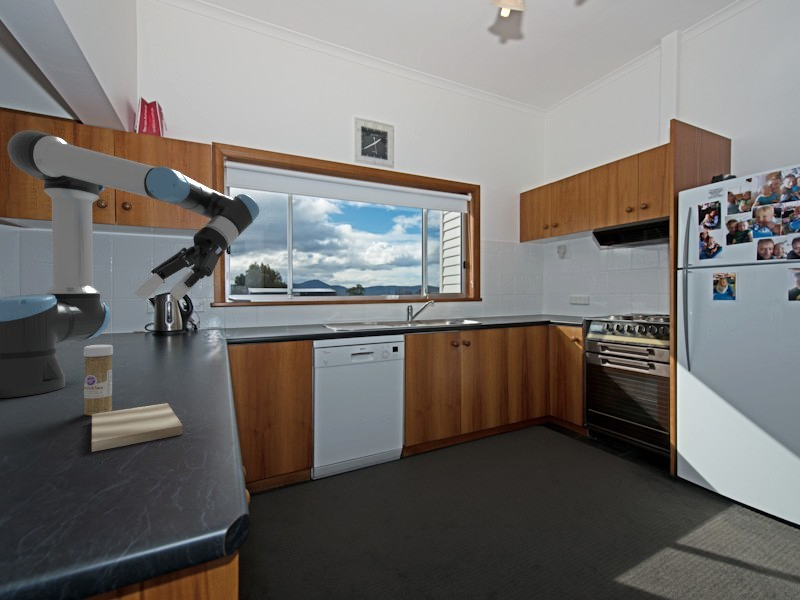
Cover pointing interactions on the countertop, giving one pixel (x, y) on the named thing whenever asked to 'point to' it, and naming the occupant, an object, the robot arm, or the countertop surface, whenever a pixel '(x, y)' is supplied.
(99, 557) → the countertop surface
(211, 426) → the countertop surface
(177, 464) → the countertop surface
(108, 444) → the birch board
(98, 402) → the sprinkles bottle
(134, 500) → the countertop surface
